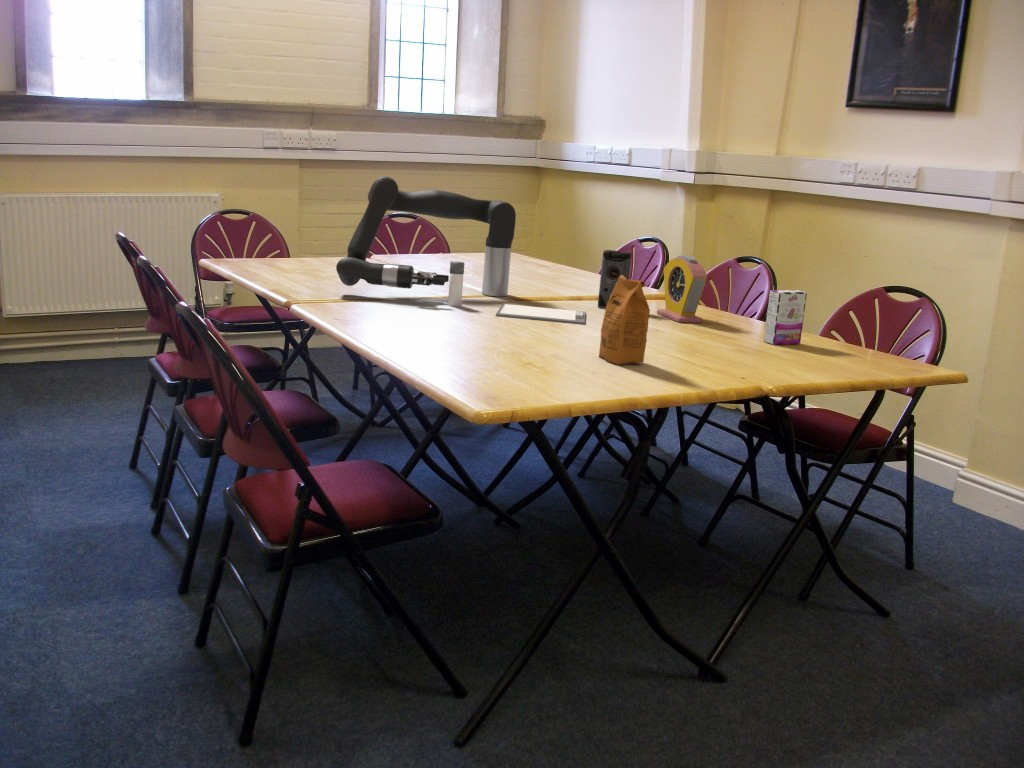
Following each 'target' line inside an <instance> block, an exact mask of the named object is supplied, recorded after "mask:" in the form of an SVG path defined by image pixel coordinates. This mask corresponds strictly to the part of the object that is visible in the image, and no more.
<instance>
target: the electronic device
mask: <svg viewBox="0 0 1024 768" xmlns="http://www.w3.org/2000/svg"><path fill="white" fill-rule="evenodd" d="M631 259H632V252H629V251H621V250H613V249H612V250H611V249H605V250H603V252H602V260H601V270H600V279H599V289H598V300H597V308H598V309H603V310H606V306H607V303H608V300H609V298H610V295H611V293H612V291H613V289H614V287H615V285H616V283H617V281H618V279H619V277H620V275H623V276H624V277H625V278H626V279H627V280H628V279H630V274H631V262H632V261H631Z"/></svg>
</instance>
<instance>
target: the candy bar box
mask: <svg viewBox="0 0 1024 768" xmlns="http://www.w3.org/2000/svg"><path fill="white" fill-rule="evenodd" d="M768 295H769V297H768V302H767V311H766V318H765V319H766V320H765V327H764V333H763V335H764V336H763V343H765V344H768V343H769V345H773V346H781V345H782V346H785V345H786V346H787V345H800V344H801V340H802V332H803V324H804V319H805V317H804V316H805V312H806V303H807V301H806V300H807V295H808V292H807V291H805V290H800V289H799V290H798V289H775V290H774V289H770V290H769V294H768Z"/></svg>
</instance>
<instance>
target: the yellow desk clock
mask: <svg viewBox="0 0 1024 768" xmlns="http://www.w3.org/2000/svg"><path fill="white" fill-rule="evenodd" d="M663 278H664V279H663V282H664V301H665V303H664V304H665V308H664V309H663V308H662V309H661V308H658V309H657V310H656V314H657V315H659V316H662V317H664V318H666V319H669V320H671V321H674V322H676V323H678V324H702V323H704V319H703V318H702V317H700V316H697V315H696V312H697V310H698V307H699V303H700V301H701V297H702V295H703V292H704V289H705V285H706V282H707V280H708V276H707V274H706V270H705V269H704V267H703V265H702V264H701V263H700V262H699V261H698V260H697V259H696V258H695V257H694V256H693V255H684V254H683V255H682V254H680V255H677V256H676V257H675V258H672V259H670V260H669V261H668V262H667V263H666V264H665V266H664V267H663Z"/></svg>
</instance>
